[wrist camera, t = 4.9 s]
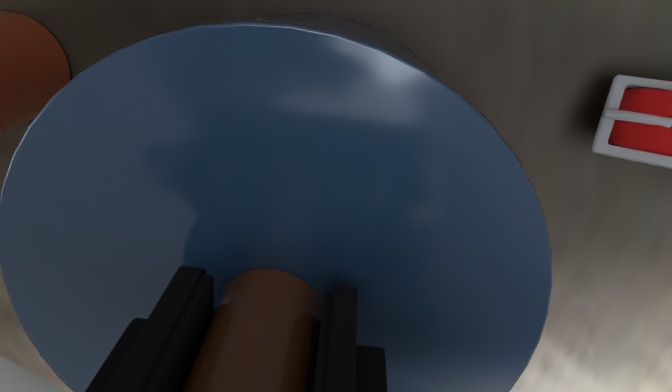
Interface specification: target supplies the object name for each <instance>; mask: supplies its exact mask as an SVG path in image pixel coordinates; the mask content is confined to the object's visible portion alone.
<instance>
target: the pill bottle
mask: <svg viewBox="0 0 672 392" xmlns="http://www.w3.org/2000/svg"><path fill="white" fill-rule="evenodd" d="M69 81H70V68H69V64H68V60H67V57H66V55H65V53H64V51H63V49H62V47H61V46H60V44H59V43H58V41H57V40H56V38H55V37H54V36H53V35H52V34H51V33H50V32H49V31H48V30H47V29H46V28H45V27H44V26H42V25H41V24H40V23H38V22H37V21H35V20H33V19H32V18H30V17H28V16H25V15H23V14H20V13H17V12H12V11H0V133H2V132H5V131H7V130H9V129H11V128H14V127H16V126H18V125H20V124H22V123H25V122H27V121H29V120H31V119H33V118H35V117H36V115H37V114H38V113H39V112H40V111H41V109H42V108H43V107H44V106H45V104H46V103H47V102H48V101H49V100H50V98H51V97H52V96H53V95H54V94H55V93H57V92H58V91H59V90H60V89H61V88H62V87H64V86H65V85H66V84H67V83H68V82H69Z"/></svg>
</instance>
